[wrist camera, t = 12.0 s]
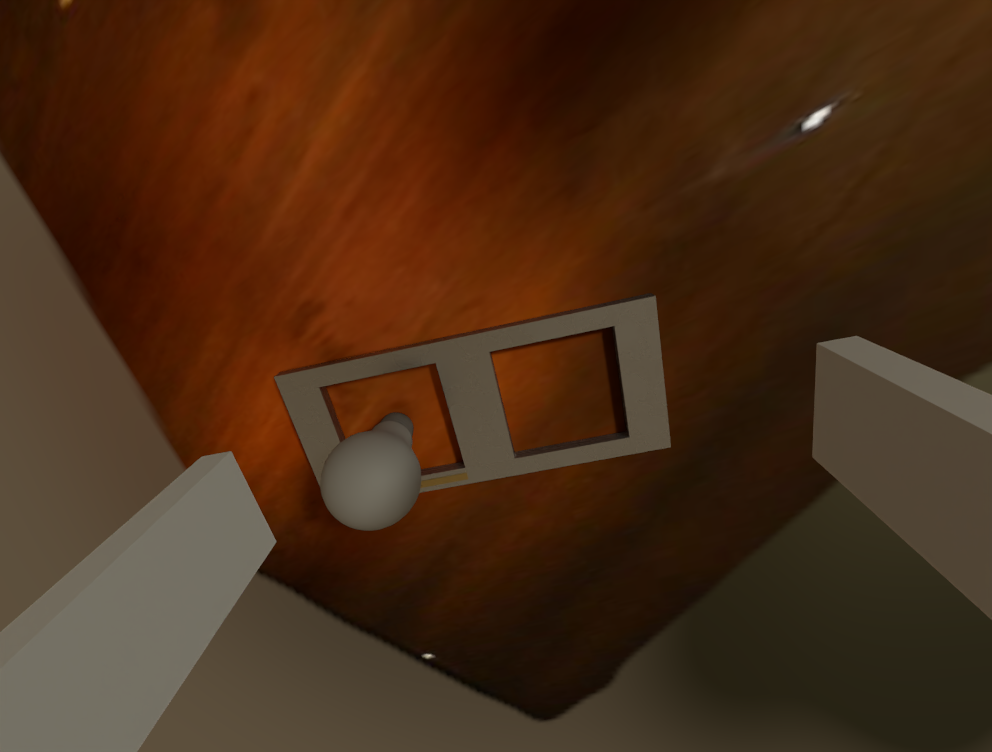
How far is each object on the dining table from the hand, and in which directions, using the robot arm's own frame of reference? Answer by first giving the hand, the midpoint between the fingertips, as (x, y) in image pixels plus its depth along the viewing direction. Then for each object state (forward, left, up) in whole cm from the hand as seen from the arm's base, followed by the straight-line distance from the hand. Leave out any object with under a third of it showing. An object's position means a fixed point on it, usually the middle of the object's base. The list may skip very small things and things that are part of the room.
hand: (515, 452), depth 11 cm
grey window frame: (+9, -4, -24) cm, 26 cm away
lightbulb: (+9, -11, -24) cm, 27 cm away
